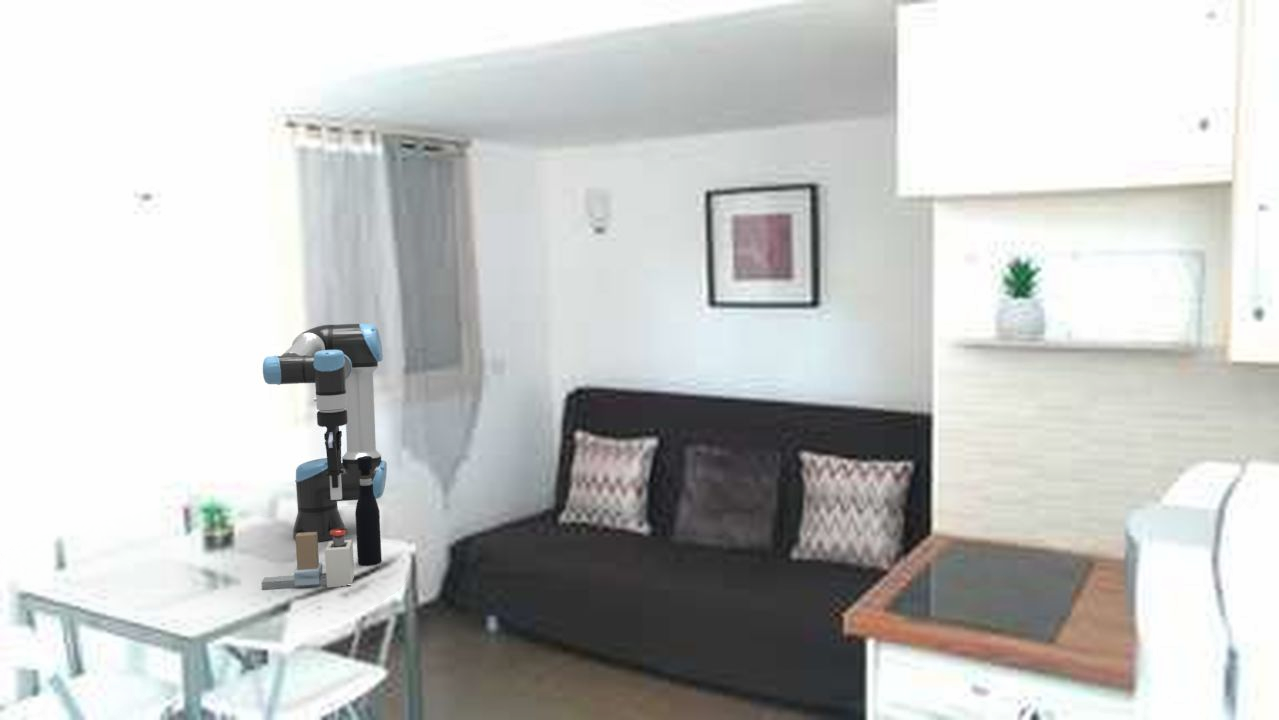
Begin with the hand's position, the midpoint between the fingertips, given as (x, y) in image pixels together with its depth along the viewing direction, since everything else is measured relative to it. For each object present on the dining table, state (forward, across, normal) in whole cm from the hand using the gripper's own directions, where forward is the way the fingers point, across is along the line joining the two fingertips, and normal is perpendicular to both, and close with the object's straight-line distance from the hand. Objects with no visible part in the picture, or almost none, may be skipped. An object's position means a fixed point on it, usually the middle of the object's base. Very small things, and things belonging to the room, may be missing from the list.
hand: (336, 498), depth 257 cm
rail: (+22, 0, -11) cm, 25 cm away
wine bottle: (+23, -15, +6) cm, 28 cm away
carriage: (+22, 0, -8) cm, 24 cm away
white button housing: (+22, 0, 0) cm, 22 cm away
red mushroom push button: (+15, 0, 0) cm, 15 cm away
